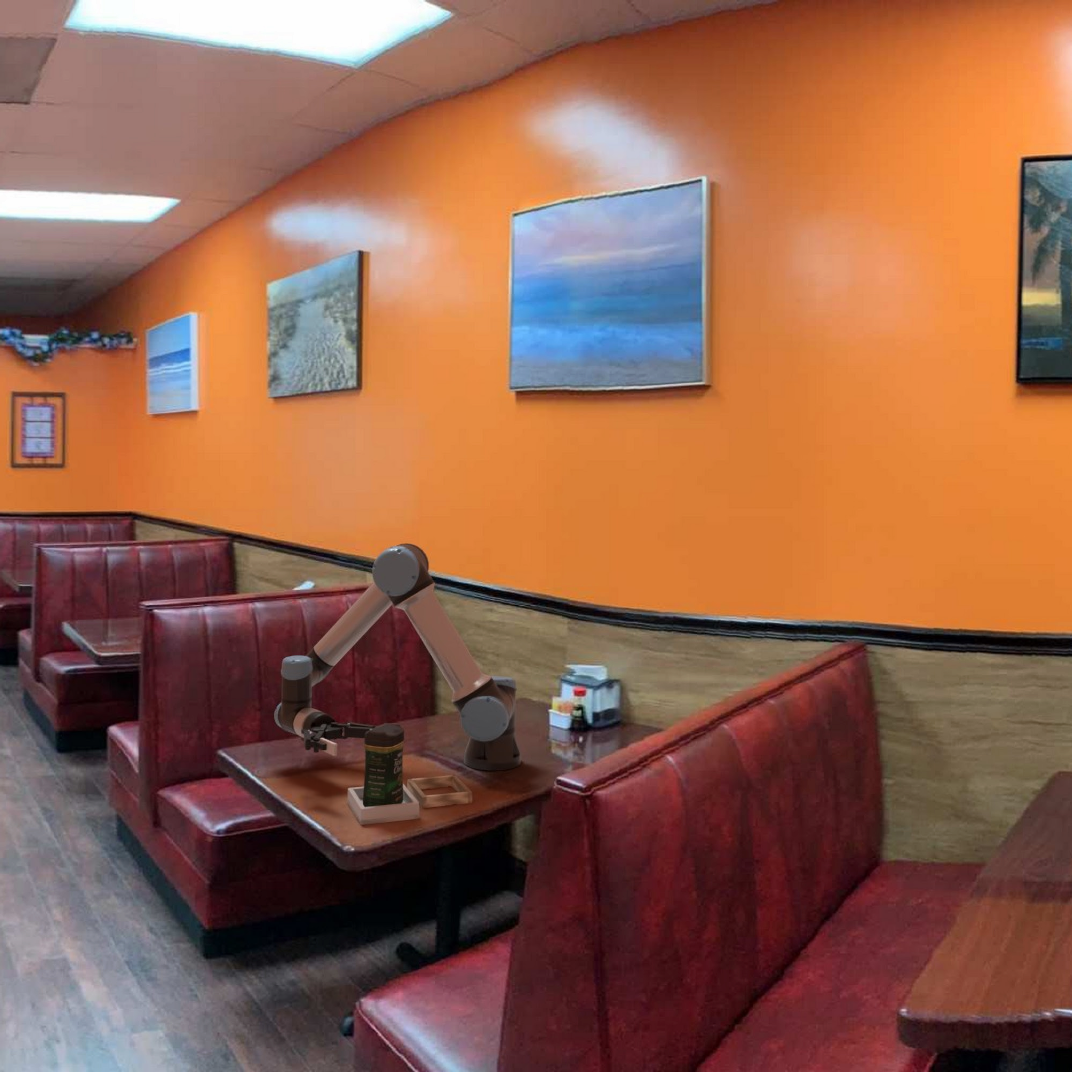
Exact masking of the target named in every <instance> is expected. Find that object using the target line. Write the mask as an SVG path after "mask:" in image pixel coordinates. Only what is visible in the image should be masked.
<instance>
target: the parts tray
mask: <svg viewBox="0 0 1072 1072" xmlns="http://www.w3.org/2000/svg"><path fill="white" fill-rule="evenodd" d="M363 791H364V786H358V787H357V786H355V787H348V788H347V804H348V807H349V808H350V809H351V811H352V812H353V814H354V816H355V818H356V817H357V818H356V819H357V820H358V823H359V822H360V823H359V824H360V825H361V826H362V825H371V824H382V823H383V824H384V823H389V822H392V823H393V822H399V821H400V822H401V821H409V820H418V819H420V805H419V802H418V801H417V800H416V799H415V797H414V796H413V795H412V794H411V792H410V791H409V790H408V789H407V785H405V784H404V783H403V802H402V803H401V804H391V805H382V806H372V807H364V805H363Z"/></svg>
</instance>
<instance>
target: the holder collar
mask: <svg viewBox="0 0 1072 1072" xmlns="http://www.w3.org/2000/svg"><path fill="white" fill-rule="evenodd" d="M406 783H407V784H406V788H407V789H408V790H409V791H410V792H411V794H412V795H413V796H414V797H415V799H416V800H417V801H418V802H419V804H420V805H419V807H421V808H422V809H425V808H426V809H428V808H434V807H436V808H437V807H445V806H446V805H447V806H451V805H450V804H457V805H464V804H472V803H473V791H471V789H470V788H469V787H468V786H466V784H464V782H463V781H462V780H461V779H460V778H458V776H456V775H455V774H451V775H448V774H447V775H439V776H429V777H418V778H417V777H416V778H408V779H406ZM448 786H451V788H452V789H454V790H455V792H450V793H441V794H439V793H438V794H429V795H426V794H425V793H424V792H423V791H422V790H428V789H427V788H431V789H438V788H437V787H441V788H449V787H448Z"/></svg>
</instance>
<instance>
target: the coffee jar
mask: <svg viewBox="0 0 1072 1072" xmlns="http://www.w3.org/2000/svg"><path fill="white" fill-rule="evenodd" d="M377 726H378V727H375V728H373V729H371V730H369V731H367V732H366V733H365V738H364V739H363V740H364V745H363V747H364V754H365V755H364V757H365V759H364V778H363V779H364V782H363V787H364V791H363V805H364V807H372V806H382V805H391V804H401V803H402V802H403V784H404V783H403V782H404V780H403V779H404V777H403V776H404V775H403V774H404V773H403V766H404V765H403V763H404V762H403V761H404V760H403V759H404V757H403V755H404V745H405V730H404V728H403V727H402V726H401V724H399V723H398V724H397V723H390V722H384V723H383V724H381V725H377Z"/></svg>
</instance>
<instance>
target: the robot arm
mask: <svg viewBox="0 0 1072 1072" xmlns="http://www.w3.org/2000/svg"><path fill="white" fill-rule="evenodd" d="M429 569H430V561H429V559H428V556H427V554H426V552H425V551H424V549H422V547H419V546H418V545H416V544H413V543H407V542H406V543H400V544H398V545H393V546H390V547H388V548H386V549H385V550H383V551H381V552H380V553H379V555H377V557H376V558H375V560H374V562H373V565H372V570H371V572H372V573H371V574H372V580H373V583H372V584H371V585H370V586H369V587H368V588H366V590H365V591H364V592H363V593H362V594H361V595H360V597H358V599H357V600H356V601H355V602H354V603H353V604H352V605H351V606H350V607H349V608H348V610H347V611H346V612H345V613H344V614H343V615H342V616H341V617H340V618H339V619H338V620H337V621H336V623H334V624H333V625H332V627H331V628H330V629H329V630H328V631H327V632H326V633H325V634H324V636H323V637H322V638H321V639H320V640H319V641H318V642H317V643H316V644H315V645H314V646H313V647H312V648H311V649H310V650H309V651H308V653H306V655H291V656H287V657H285V658H283V659H282V662H281V670H280V675H281V700H280V701H281V702H280V703H279V704H278V705H277V706H276V707H275V710H274V713H273V716H274V717H273V719H274V721H275V724H276V725H277V726H279V728H281V729H282V730H284V731H286V732H288V733H291V734H294V735H297V736H299V737H300V740H301V741H303V744H304V749H305V751H310V750H311V748H313V753H314V754H317V753H319V752H320V751H322V752H324V753H326V754H329V755H331V756H333V757H336V756H338V743H336V742H333V741H331V740H337V739H338V740H346V739H348V738H354V739H365V733H366V732H367V731H369V730H371V729H373V728H375V727H378V726H379V725H376V724H364V723H356V722H353V721H350V720H349V721H348V720H347V721H346V722H345V723H339V722H336V720H335V719H334V717H333V716H331V715H330V714H329V713H326V712H323V711H320V710H318V709H315V708H312V698H313V697H312V695H313V694H312V690H313V688H312V687H314V686H316V684H318V683H320V682H322V681H324V679H325V678H326V677H328V675H329V673H330V671H332V669H333V668H334V666H336V665H337V664H338V663H339V661H341V659H343V657H345V655H346V654H347V653H348V652H349V651H350V650H351V649H352V648H353V647H354V646H355V645H356V643H357V642H358V641H359V640H360V639H361V638H362V637H363V636H364V635H365V634H366V633H367V632H368V631H369V629H371V627H372V626H373V625H375V623H376V622H377V621H378V620H379V619H380V618H381V617H382V616H383V615H384V613H386V612H387V610H388V609H389V608H390V607H391V606H392V605H393V607H394V608H396V609H399V610H403V612H404V613H405V615H406V616H407V617H408V619H409V621H410V623H411V624H412V626H413V628H414V629H415V631H416V633H417V634H418V636H419V637H420V639H421V641H422V643H423V644H424V646H425V648H426V649H427V651H428V653H429V654H430V655H431V657H432V659H433V661H434V662H435V664H436V666H437V667H438V669H439V670H440V672H441V673H442V675H443V677H444V679H445V680H446V682H447V684H448V685H449V687H450V689H451V691H452V697H451V703H452V704H453V706H454V707H455V708H456V710H457V713H458V714H459V716H460V717H459V720H460V725H461V728H462V730H463V731H464V733H465V734H466V735H468V737H469V738H468V742H467V745H466V747H465V750H464V753H463V764H464V765H465V766H467V767H469V768H471V769H475V770H483V771H504V770H511V769H514V768H517V767H519V766H520V765H521V763H522V754H521V751H520V747H519V743H518V740H517V737H516V697H517V695H516V693H517V690H518V688H517V682H516V680H515V678H513V677H509V676H500V675H499V676H497V675H488V674H485V673H483V672H482V671H481V669H480V667H479V666H478V664H477V662H476V660H475V659H474V658H473V655H472V654H471V653H470V651H469V649H468V647H467V646H466V644H465V642H464V641H463V639H462V638H461V636H460V634H459V633H458V631H457V629H456V628H455V626H454V624H453V622H452V621H451V620H450V617H449V616H448V614H447V612H446V611H445V610H444V607H443V606H442V605H441V603H440V601H439V599H438V597H437V596H436V594H435V593H434V589H435V585H436V583H435V581H434V580H433V577H432V575H430V573H429Z"/></svg>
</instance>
